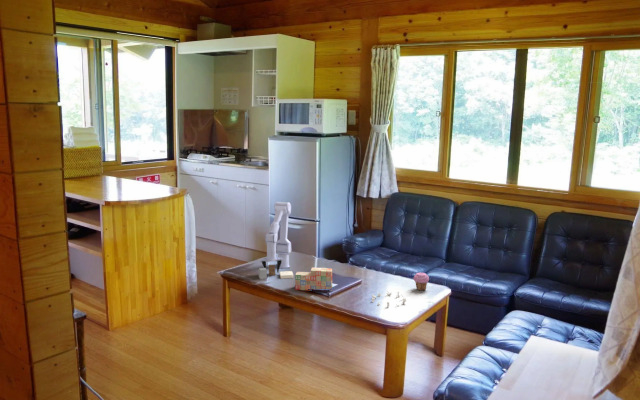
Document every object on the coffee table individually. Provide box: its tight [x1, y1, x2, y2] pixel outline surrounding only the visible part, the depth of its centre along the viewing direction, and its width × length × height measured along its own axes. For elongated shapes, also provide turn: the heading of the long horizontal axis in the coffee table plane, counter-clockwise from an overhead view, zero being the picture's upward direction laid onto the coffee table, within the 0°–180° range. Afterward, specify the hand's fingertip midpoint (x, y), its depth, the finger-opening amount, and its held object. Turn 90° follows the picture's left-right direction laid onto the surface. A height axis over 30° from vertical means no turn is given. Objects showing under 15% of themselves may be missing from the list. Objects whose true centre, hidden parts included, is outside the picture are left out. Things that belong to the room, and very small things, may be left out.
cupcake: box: [413, 272, 430, 291], centre depth 310 cm, size 9×9×10 cm
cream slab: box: [279, 270, 295, 280], centre depth 334 cm, size 8×8×2 cm
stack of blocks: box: [294, 267, 333, 291], centre depth 310 cm, size 21×6×12 cm, turn 83°
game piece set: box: [371, 290, 407, 308], centre depth 291 cm, size 19×20×4 cm
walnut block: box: [267, 264, 276, 277], centre depth 337 cm, size 4×4×6 cm
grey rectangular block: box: [258, 267, 268, 280], centre depth 331 cm, size 4×4×6 cm
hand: (271, 272), depth 338 cm, fingers open, 7 cm apart
